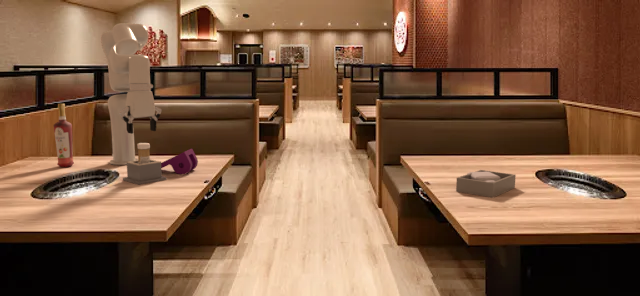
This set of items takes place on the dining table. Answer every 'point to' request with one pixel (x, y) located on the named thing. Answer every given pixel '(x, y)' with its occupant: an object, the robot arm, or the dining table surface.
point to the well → (144, 172)
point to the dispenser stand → (486, 184)
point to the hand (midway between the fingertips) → (142, 131)
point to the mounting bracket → (182, 162)
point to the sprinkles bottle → (143, 153)
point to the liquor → (63, 139)
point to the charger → (484, 176)
